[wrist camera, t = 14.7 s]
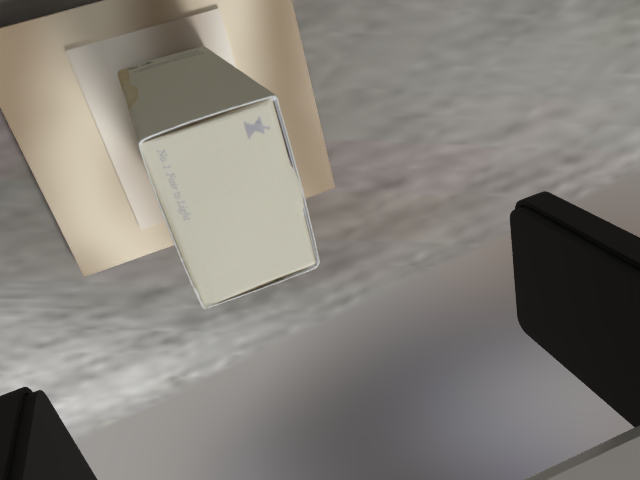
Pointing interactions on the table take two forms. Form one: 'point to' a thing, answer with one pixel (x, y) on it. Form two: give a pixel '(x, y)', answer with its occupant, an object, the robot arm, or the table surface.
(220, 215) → the skincare box
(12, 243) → the table surface
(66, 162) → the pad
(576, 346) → the robot arm
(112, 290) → the table surface
